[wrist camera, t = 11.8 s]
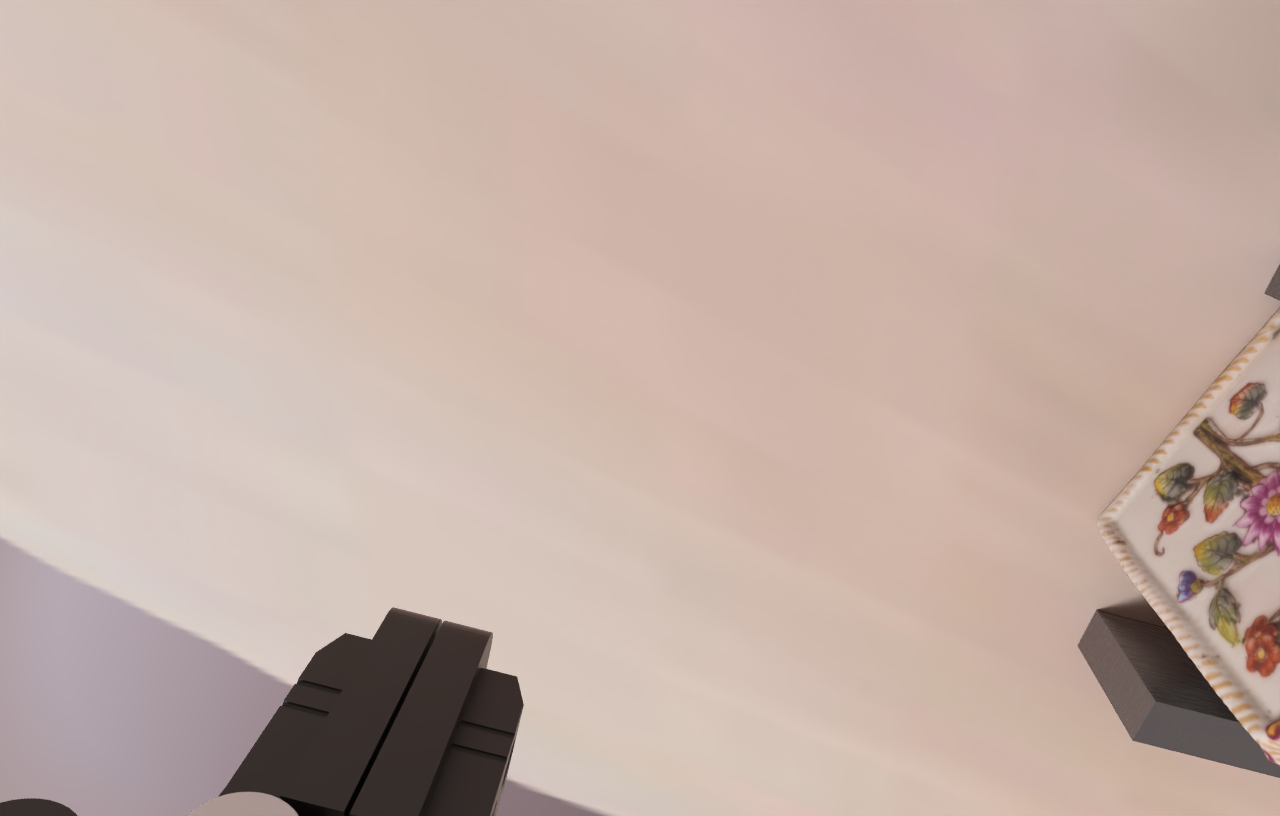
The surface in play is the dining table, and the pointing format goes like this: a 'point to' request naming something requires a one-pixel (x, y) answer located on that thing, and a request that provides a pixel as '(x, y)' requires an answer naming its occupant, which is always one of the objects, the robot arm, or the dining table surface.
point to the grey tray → (1168, 686)
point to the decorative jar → (1217, 535)
